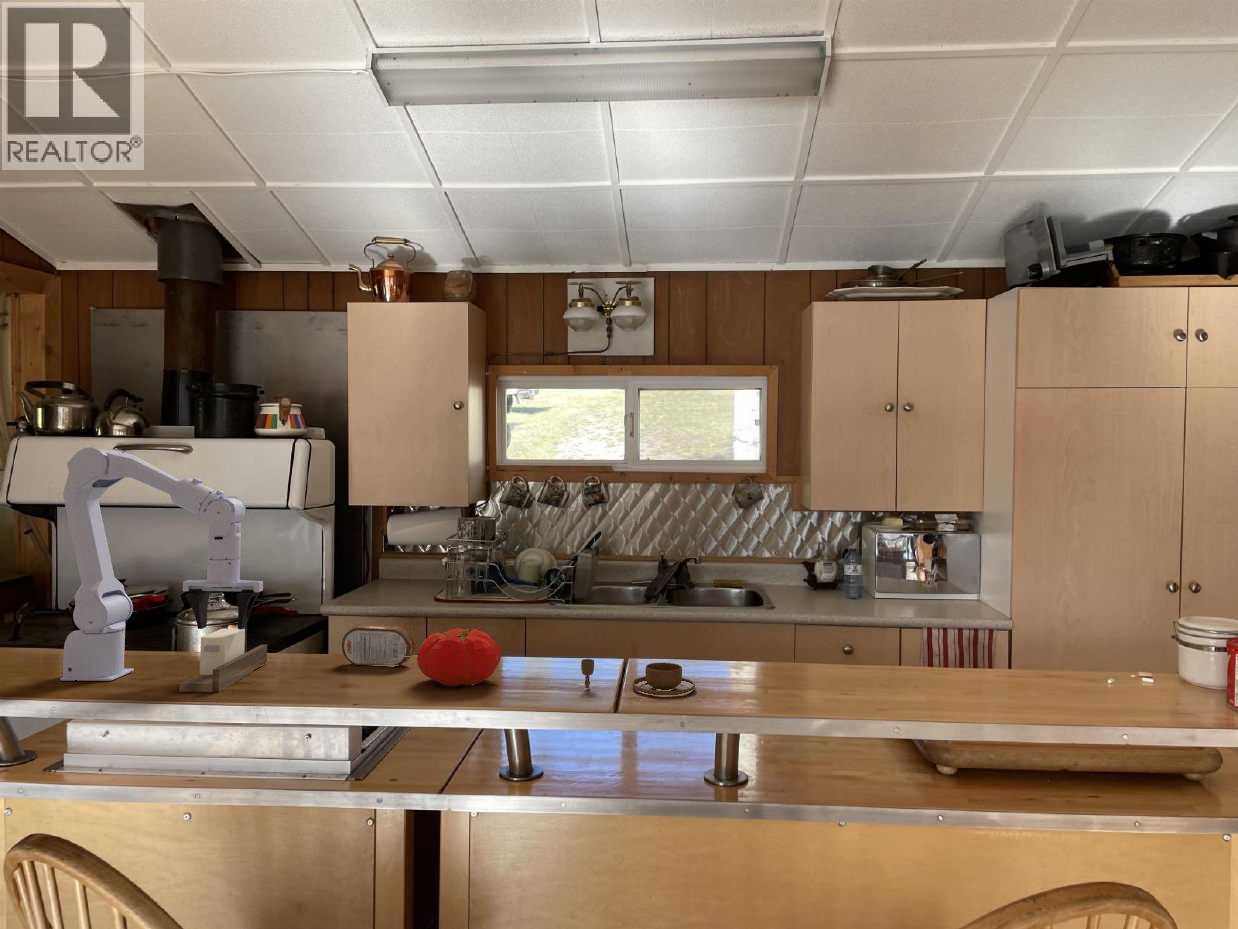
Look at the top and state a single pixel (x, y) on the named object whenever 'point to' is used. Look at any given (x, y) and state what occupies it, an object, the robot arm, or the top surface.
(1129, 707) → the top surface
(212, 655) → the cabinet block
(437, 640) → the tomato
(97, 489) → the robot arm
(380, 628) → the tin
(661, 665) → the place setting
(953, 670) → the top surface
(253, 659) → the ledge board
